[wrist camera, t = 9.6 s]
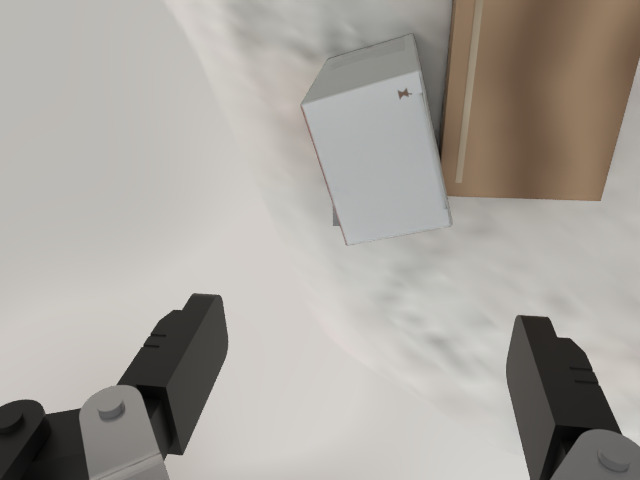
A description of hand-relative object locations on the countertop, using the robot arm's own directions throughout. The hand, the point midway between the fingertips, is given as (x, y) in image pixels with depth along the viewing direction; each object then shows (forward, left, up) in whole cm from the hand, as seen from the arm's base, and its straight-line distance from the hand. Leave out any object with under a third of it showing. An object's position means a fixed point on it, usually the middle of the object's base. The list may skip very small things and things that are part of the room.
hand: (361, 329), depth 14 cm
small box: (0, 0, -22) cm, 22 cm away
